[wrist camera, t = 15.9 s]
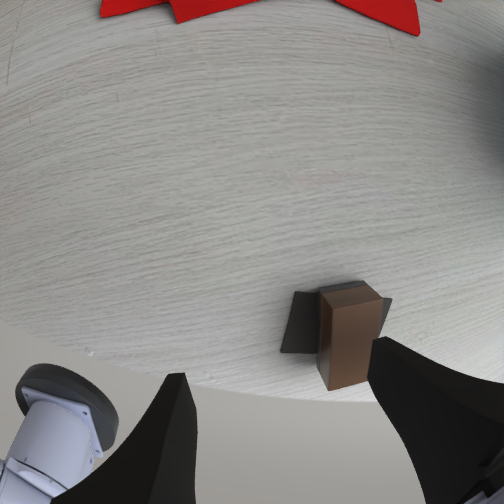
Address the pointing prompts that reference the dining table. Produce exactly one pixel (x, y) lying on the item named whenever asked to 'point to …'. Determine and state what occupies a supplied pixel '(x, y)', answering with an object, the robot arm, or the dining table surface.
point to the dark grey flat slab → (310, 323)
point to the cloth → (202, 3)
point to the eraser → (346, 332)
